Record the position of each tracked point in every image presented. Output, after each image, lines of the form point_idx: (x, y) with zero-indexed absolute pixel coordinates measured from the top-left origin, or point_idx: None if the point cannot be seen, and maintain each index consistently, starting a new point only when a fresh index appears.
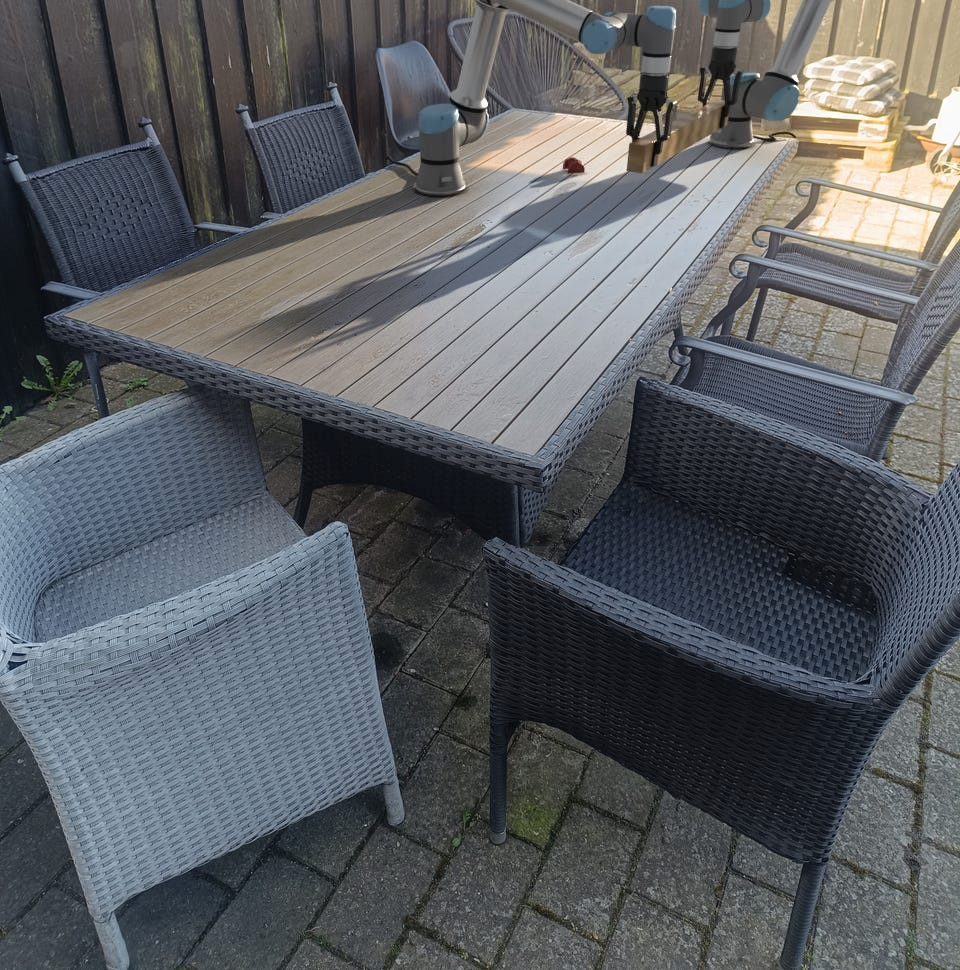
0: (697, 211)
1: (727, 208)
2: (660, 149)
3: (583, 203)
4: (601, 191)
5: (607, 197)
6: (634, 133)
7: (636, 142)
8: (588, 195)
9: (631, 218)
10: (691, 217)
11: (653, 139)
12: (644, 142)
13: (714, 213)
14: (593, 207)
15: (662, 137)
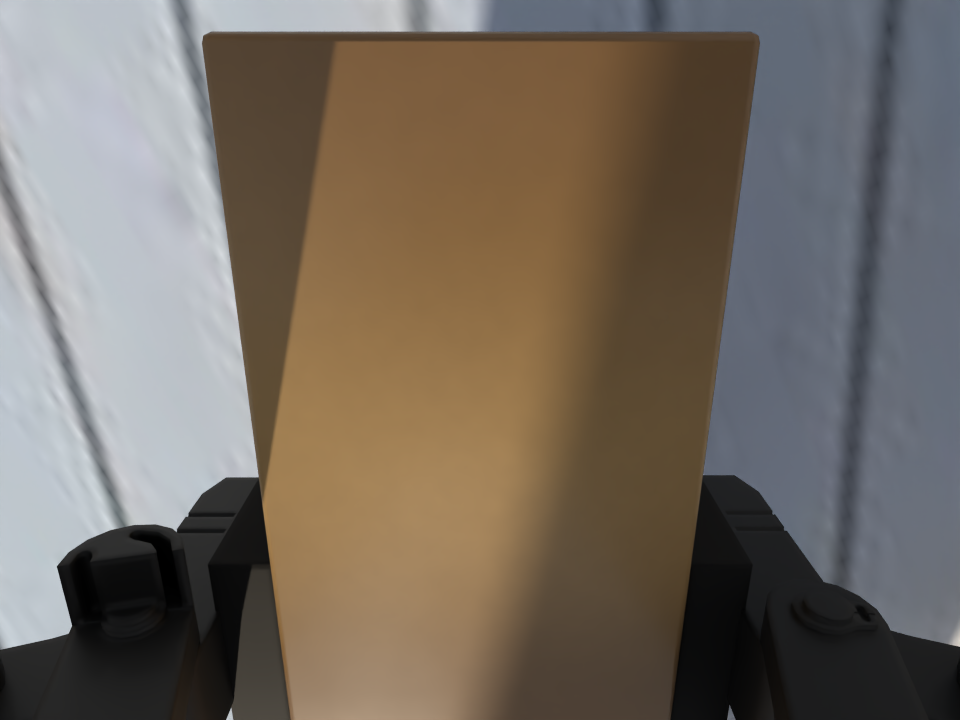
0: (124, 439)
1: (14, 583)
2: (181, 527)
3: (925, 164)
4: (871, 490)
5: (790, 394)
6: (851, 671)
7: (601, 262)
8: (937, 364)
9: (435, 14)
10: (82, 301)
11: (368, 713)
12: (416, 386)
13: (15, 459)
14: (818, 111)
15: (30, 703)
